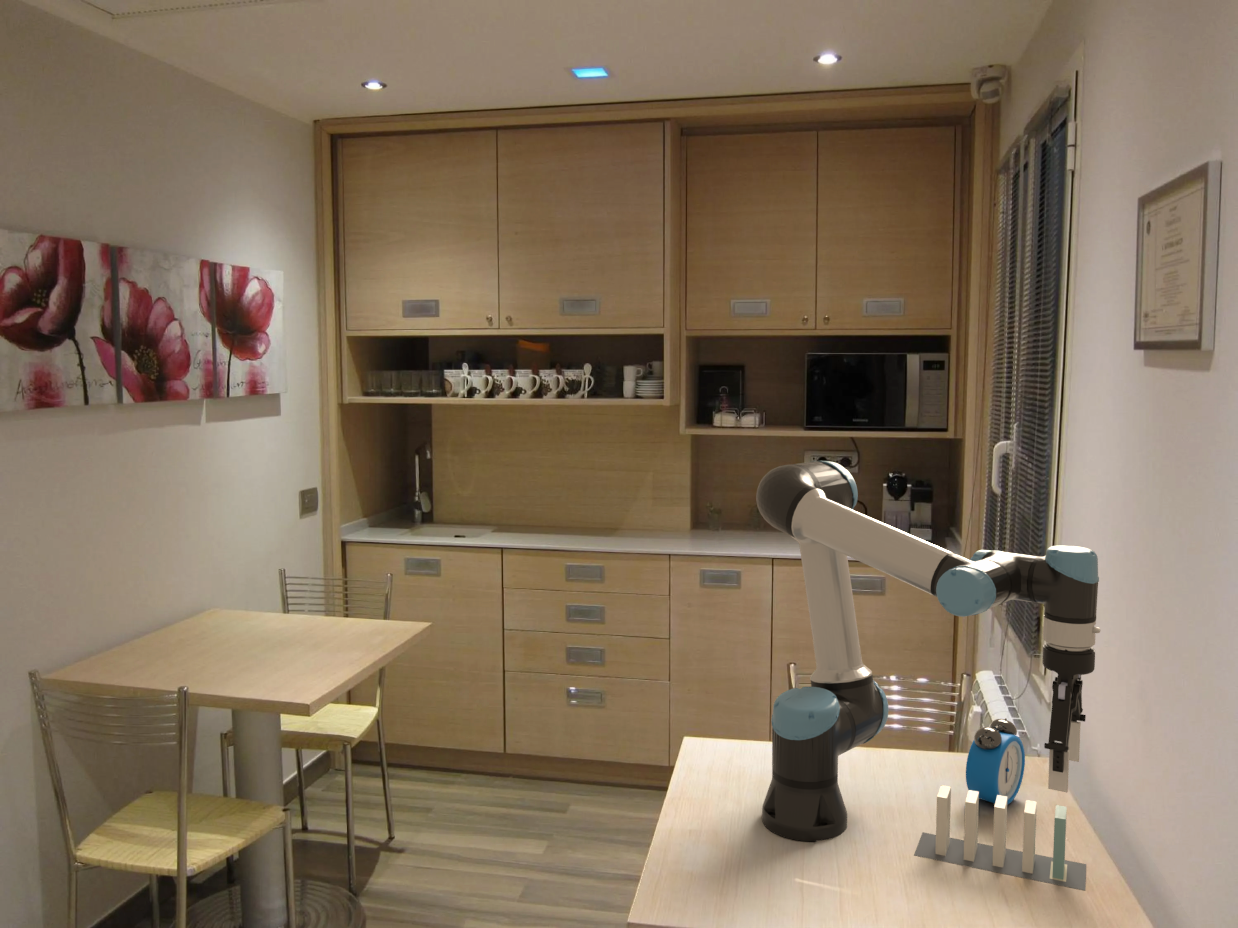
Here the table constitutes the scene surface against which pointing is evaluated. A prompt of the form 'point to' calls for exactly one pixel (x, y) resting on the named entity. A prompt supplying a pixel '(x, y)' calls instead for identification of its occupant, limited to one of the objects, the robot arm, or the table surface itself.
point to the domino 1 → (943, 820)
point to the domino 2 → (971, 825)
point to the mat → (1012, 862)
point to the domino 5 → (1059, 842)
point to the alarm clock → (996, 761)
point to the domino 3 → (999, 831)
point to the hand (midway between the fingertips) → (1064, 774)
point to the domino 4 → (1029, 836)
